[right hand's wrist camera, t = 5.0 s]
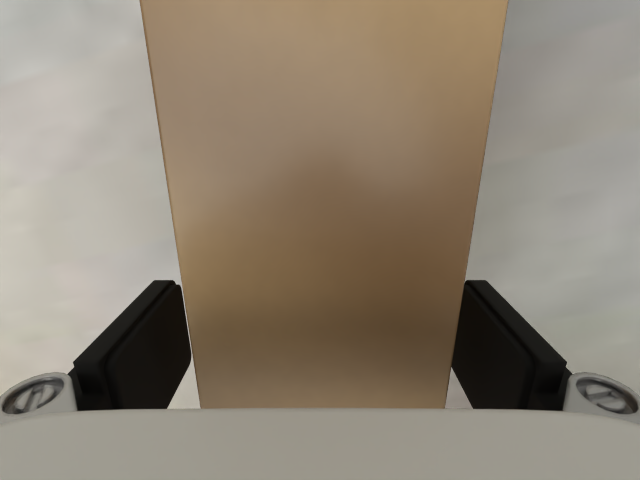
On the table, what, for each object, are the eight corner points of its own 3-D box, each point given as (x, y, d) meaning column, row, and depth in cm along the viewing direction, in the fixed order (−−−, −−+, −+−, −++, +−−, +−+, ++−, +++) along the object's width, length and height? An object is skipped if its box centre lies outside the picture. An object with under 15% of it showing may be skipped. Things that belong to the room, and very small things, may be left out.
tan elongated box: (242, -140, 14) (-2, -926, 3) (402, -140, 14) (656, -928, 3) (267, 293, 21) (210, 482, 10) (375, 294, 21) (434, 483, 10)
